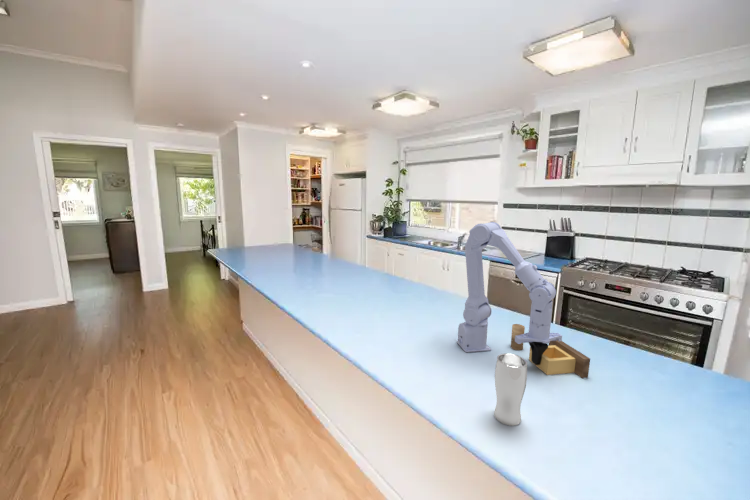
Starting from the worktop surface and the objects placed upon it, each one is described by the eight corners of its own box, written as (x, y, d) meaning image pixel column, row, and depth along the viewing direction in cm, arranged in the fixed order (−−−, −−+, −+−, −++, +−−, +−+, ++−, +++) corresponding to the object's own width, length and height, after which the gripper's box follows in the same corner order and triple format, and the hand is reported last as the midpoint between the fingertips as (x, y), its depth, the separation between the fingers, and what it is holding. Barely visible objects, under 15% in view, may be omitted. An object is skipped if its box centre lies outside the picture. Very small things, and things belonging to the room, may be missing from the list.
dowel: (514, 350, 112) (516, 328, 110) (508, 345, 116) (510, 324, 114) (525, 349, 112) (527, 328, 111) (518, 344, 116) (520, 323, 115)
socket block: (547, 374, 97) (548, 361, 96) (528, 359, 106) (530, 347, 105) (574, 372, 98) (575, 358, 97) (553, 357, 107) (555, 345, 106)
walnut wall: (581, 378, 95) (584, 359, 94) (547, 353, 110) (549, 336, 109) (587, 377, 95) (590, 358, 94) (553, 353, 110) (554, 336, 109)
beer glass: (487, 408, 82) (491, 353, 79) (513, 407, 82) (518, 352, 80) (500, 428, 75) (504, 368, 72) (528, 426, 75) (534, 367, 73)
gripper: (526, 328, 93) (522, 371, 96) (571, 325, 96) (566, 368, 98) (512, 319, 100) (509, 359, 103) (554, 317, 102) (550, 356, 105)
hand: (536, 363), depth 101 cm, fingers closed, pressing on socket block
